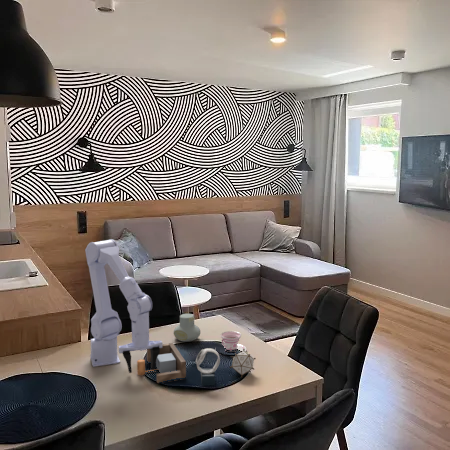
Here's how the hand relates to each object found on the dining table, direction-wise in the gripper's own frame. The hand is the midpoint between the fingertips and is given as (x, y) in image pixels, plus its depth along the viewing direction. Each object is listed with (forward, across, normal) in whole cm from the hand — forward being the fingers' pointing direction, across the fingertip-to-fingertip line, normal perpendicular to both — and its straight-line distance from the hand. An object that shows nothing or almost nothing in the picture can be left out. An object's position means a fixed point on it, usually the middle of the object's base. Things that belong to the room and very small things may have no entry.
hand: (141, 369), depth 160 cm
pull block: (+1, +5, 0) cm, 5 cm away
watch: (+2, +20, -13) cm, 23 cm away
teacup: (+2, +36, +9) cm, 37 cm away
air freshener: (+2, +24, +25) cm, 34 cm away
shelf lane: (+1, +8, 0) cm, 9 cm away
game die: (+2, +32, -12) cm, 35 cm away
